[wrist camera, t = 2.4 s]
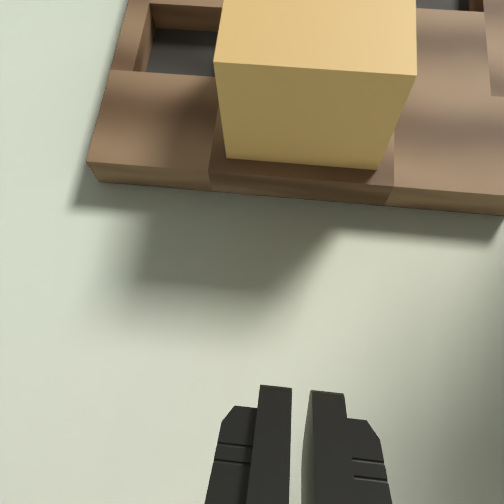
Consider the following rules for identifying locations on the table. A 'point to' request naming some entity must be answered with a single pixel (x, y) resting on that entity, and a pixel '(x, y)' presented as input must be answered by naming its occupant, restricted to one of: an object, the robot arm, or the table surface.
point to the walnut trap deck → (301, 175)
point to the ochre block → (314, 78)
